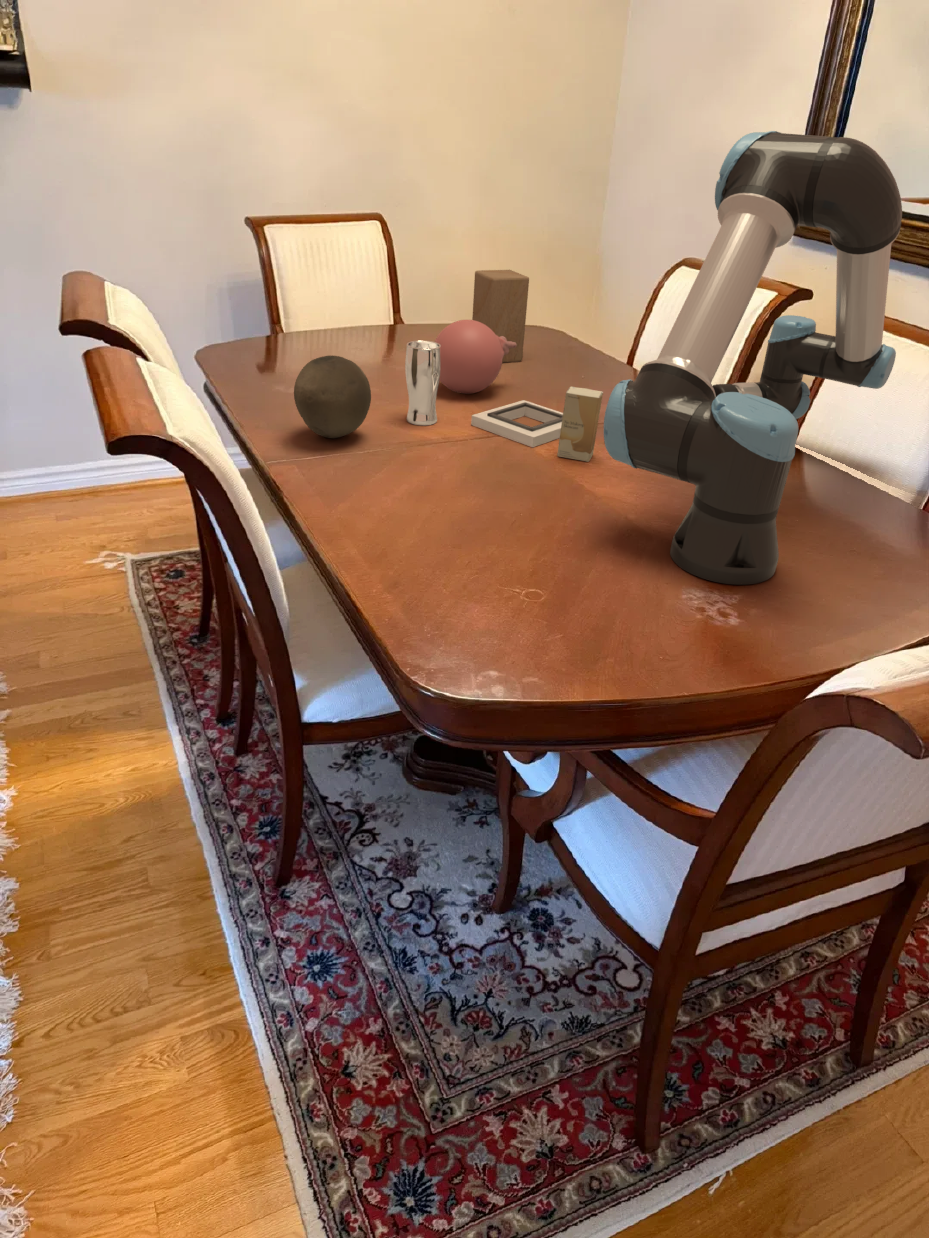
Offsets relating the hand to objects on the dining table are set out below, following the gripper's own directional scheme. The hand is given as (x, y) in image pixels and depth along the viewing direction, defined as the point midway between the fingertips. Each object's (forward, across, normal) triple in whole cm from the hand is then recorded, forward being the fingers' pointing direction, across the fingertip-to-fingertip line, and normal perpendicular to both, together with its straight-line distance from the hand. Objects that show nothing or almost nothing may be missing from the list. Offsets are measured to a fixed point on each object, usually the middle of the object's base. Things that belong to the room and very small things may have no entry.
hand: (630, 409), depth 157 cm
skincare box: (+10, 0, -8) cm, 13 cm away
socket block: (+14, +16, -8) cm, 23 cm away
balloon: (+17, +41, -9) cm, 45 cm away
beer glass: (+34, +23, -8) cm, 42 cm away
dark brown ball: (+52, +16, -8) cm, 55 cm away
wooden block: (+4, +67, -9) cm, 68 cm away
